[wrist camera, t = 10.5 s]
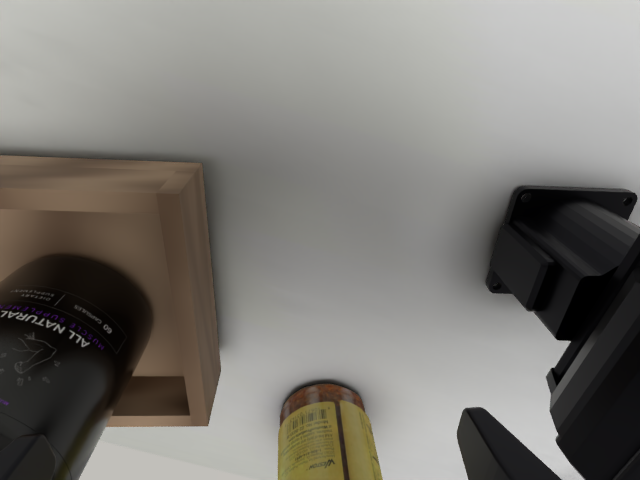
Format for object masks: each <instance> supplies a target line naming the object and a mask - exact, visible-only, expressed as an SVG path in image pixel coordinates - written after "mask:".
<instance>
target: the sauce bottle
mask: <svg viewBox="0 0 640 480" xmlns="http://www.w3.org/2000/svg"><path fill="white" fill-rule="evenodd" d="M278 480H383V479H382V475H381V470H380V466H379V461H378V456H377V452H376V447H375V442H374V438H373V433H372V428H371V424H370V421H369V418H368V416H367V415H366V413H365V409H364V406H363V403H362V400H361V398H360V397H359V396H358V394H357V393H354V392H353V391H351V390H349V389H347V388H343V387H341V386H338V385H335V384H317V385H313V386H308V387H305V388H302V389H301V390H299V391H296V393H294V394H293V395H291V396H290V397H289V398H288V400H287V401H286V402H285V403H284V407H283V409H282V411H281V415H280V429H279V434H278Z"/></svg>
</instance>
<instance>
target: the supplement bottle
mask: <svg viewBox="0 0 640 480" xmlns="http://www.w3.org/2000/svg"><path fill="white" fill-rule="evenodd" d="M151 330H152V321H151V315H150V311H149V308H148V306H147V303H146V301H145V300H144V298H143V296H142V295H141V293H140V292H139V291H138V290H137V288H136V287H135V286H134V285H133V284H132V283H131V282H130V281H129V280H128V279H126V278H125V277H124V276H122V275H121V274H120V273H118V272H116V271H115V270H113V269H111V268H109V267H107V266H105V265H103V264H101V263H98V262H95V261H92V260H88V259H84V258H79V257H72V256H53V257H46V258H41V259H37V260H34V261H32V262H29V263H27V264H25V265H23V266H21V267H20V268H18V269H17V270H15V271H14V272H13V273H11V274H10V275H9V276H7V277H6V278H5V279H4V280H2V281H1V282H0V451H1V450H3V449H4V448H5V447H6V446H7V445H9V444H10V443H11V442H12V441H13V440H15V439H16V438H18V437H19V436H22V435H27V434H42V435H44V436H45V437H46V439H47V441H48V443H49V445H50V447H51V449H52V451H53V453H54V455H55V457H56V466H55V470H54V473H53V476H52V479H51V480H78V479H79V477H80V476H81V474H82V472H83V470H84V468H85V466H86V464H87V462H88V460H89V458H90V456H91V454H92V452H93V450H94V448H95V447H96V445H97V443H98V441H99V439H100V437H101V435H102V433H103V431H104V429H105V427H106V425H107V423H108V421H109V419H110V417H111V415H112V414H113V412H114V410H115V408H116V406H117V404H118V402H119V400H120V398H121V396H122V394H123V392H124V390H125V388H126V386H127V384H128V382H129V381H130V379H131V377H132V375H133V373H134V371H135V369H136V367H137V365H138V363H139V361H140V359H141V357H142V355H143V353H144V351H145V349H146V347H147V345H148V342H149V339H150V336H151Z"/></svg>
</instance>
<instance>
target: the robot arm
mask: <svg viewBox="0 0 640 480" xmlns="http://www.w3.org/2000/svg"><path fill="white" fill-rule="evenodd" d="M526 193H527V196H526V198H524V199H521V197H522V196H523V195H524V194H526ZM625 198H626V200H625V201H624V202H623V200H624V199H625ZM636 202H637V195H636V194H635V193H633V192H631V191H629V190H621V189H594V188H567V187H540V186H522V187H519V188H518V189H517V190H516V191H515V192H514V194H513V196H512V200H511V203H510V206H509V209H508V213H507V216H506V219H505V222H504V225H503V226H502V227H501V229H500V233H499V236H498V239H497V242H496V246H495V249H494V252H493V255H492V259H491V262H490V266H491V268H490V271H489V274H488V278H487V281H486V286H487V288H488V289H489V291H490V292H492V293H503V294H514V296H515V297H516V298H517V299H518V300H519V302H520V303H521V304H522V305H523V307H524V308H525V309H526V310H527V311H529V312H534V313H535V314H536V315H537V317H538V318H539V319H540V320H541V321H542V323H543V324H544V325H545V326H546V327H547V329H548V330H549V331H550V332H551V333H552V334H553V336H554V337H555V338H556V339H557V340H566V341H571V343H570V344H569V346H568V347H567V349H566V351H565V352H564V354H563V355H562V357H561V359H560V360H559V362H558V363H557V365H556V366H555V368H551V370H550V371H549V373H548V374H547V376H546V379H547V382H548V386H549V389H550V392H551V401H550V413H551V416H552V419H553V422H554V425H555V427H556V430H557V432H558V436H557V437H556V443H557V445H558V446H559V448H560V449H561V451H562V452H563V454H564V455H565V456H566V458H567V459H568V461H569V462H570V464H571V465H572V466H573V467H574V468H575V470H576V471H577V472H578V473H579V474H580V475H581V476H582V477H583V478H584V479H585V480H640V227H638V226H637V225H635V224H633V223H631V222H630V221H628V219H629V216H630V214H631V212H632V210H633V208H634V206H635V204H636ZM496 283H498V284H497V285H496V286H493V285H494V284H496ZM457 439H458V444H459V447H460V451H461V454H462V458H463V462H464V465H465V469H466V472H467V476H468V479H469V480H561V479H560V478H559V477H558V476H557V475H556V474H555V473H554V472H553V471H552V470H551V469H550V468H548V467H547V466H546V465H545V464H544V463H543V462H542V461H541V460H540V459H539V458H538V457H536V456H535V455H534V454H533V453H532V452H531V451H530V450H529V449H528V448H527V447H526V446H525V445H523V444H522V443H521V442H520V441H519V440H518V439H517V438H516V437H515V436H514V435H513V434H511V433H510V432H509V431H508V430H507V429H506V428H505V427H504V426H503V425H502V424H501V423H499V422H498V421H497V420H496V419H495V418H494V417H493V416H492V415H491V414H490V413H489V412H488V411H486V410H485V409H483V408H481V407H473V408H465V409H464V410H463V412H462V415H461V419H460V423H459V426H458V430H457ZM55 466H56V457H55V455H54V453H53V451H52V449H51V447H50V445H49V443H48V441H47V439H46V437H45V436H44V435H42V434H27V435H22V436H19V437H18V438H16V439H15V440H13V441H12V442H11V443H10V444H9V445H7V446H6V447H5V448H4V449H3V450H1V451H0V480H51V479H52V476H53V473H54V470H55Z"/></svg>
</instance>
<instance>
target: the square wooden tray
mask: <svg viewBox="0 0 640 480" xmlns="http://www.w3.org/2000/svg"><path fill="white" fill-rule="evenodd" d="M53 256H72V257H79V258H84V259H88V260H92V261H95V262H98V263H101V264H103V265H105V266H107V267H109V268H111V269H113V270H115V271H116V272H118V273H120V274H121V275H122V276H124V277H125V278H126V279H128V280H129V281H130V282H131V283H132V284H133V285H134V286H135V287H136V288H137V290H138V291H139V292H140V293H141V295H142V296H143V298H144V300H145V301H146V303H147V306H148V308H149V311H150V315H151V321H152V330H151V336H150V339H149V342H148V345H147V347H146V349H145V351H144V353H143V355H142V357H141V359H140V361H139V363H138V365H137V367H136V369H135V371H134V373H133V375H132V377H131V379H130V381H129V382H128V384H127V386H126V388H125V390H124V392H123V394H122V396H121V398H120V400H119V402H118V404H117V406H116V408H115V410H114V412H113V414H112V415H111V417H110V419H109V421H108V423H107V425H106V427H154V426H208V424H209V420H210V415H211V411H212V407H213V402H214V398H215V394H216V390H217V385H218V381H219V377H220V372H221V365H220V354H219V343H218V332H217V321H216V310H215V299H214V288H213V277H212V266H211V255H210V244H209V233H208V222H207V211H206V200H205V189H204V178H203V167H202V163H186V162H161V161H135V160H109V159H83V158H57V157H32V156H6V155H0V282H1V281H2V280H4V279H5V278H6V277H7V276H9V275H10V274H11V273H13V272H14V271H15V270H17V269H18V268H20V267H21V266H23V265H25V264H27V263H29V262H32V261H34V260H37V259H41V258H46V257H53Z"/></svg>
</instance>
